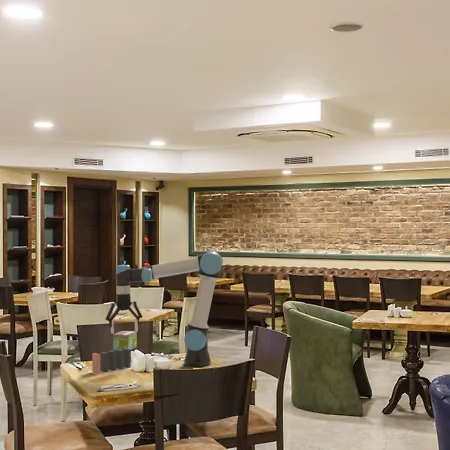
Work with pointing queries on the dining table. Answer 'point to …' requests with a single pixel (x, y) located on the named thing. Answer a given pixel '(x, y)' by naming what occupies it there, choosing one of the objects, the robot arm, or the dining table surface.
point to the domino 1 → (95, 363)
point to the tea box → (125, 340)
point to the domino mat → (111, 371)
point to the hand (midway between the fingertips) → (124, 332)
